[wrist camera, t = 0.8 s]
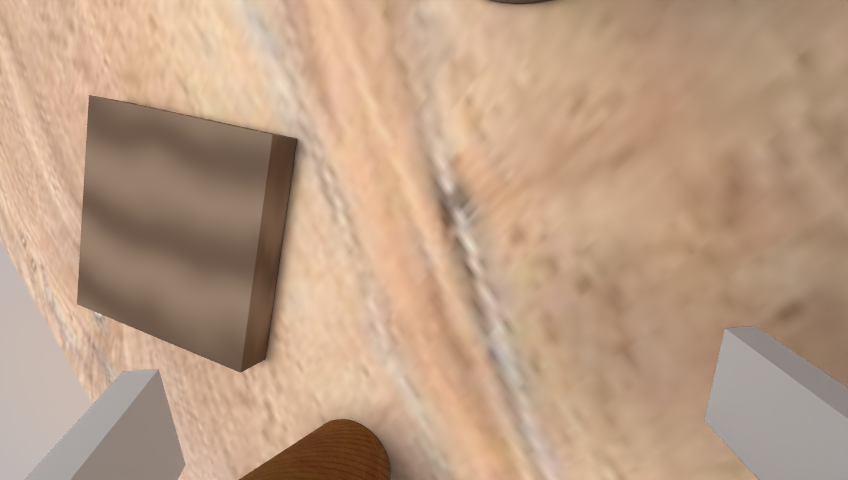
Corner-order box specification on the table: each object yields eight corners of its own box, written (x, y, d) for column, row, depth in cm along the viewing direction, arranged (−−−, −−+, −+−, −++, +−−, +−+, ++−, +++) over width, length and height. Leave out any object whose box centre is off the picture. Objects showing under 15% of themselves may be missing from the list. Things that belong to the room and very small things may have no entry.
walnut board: (122, 101, 34) (89, 95, 32) (297, 138, 30) (272, 134, 27) (108, 296, 37) (77, 303, 35) (265, 359, 33) (240, 372, 30)
